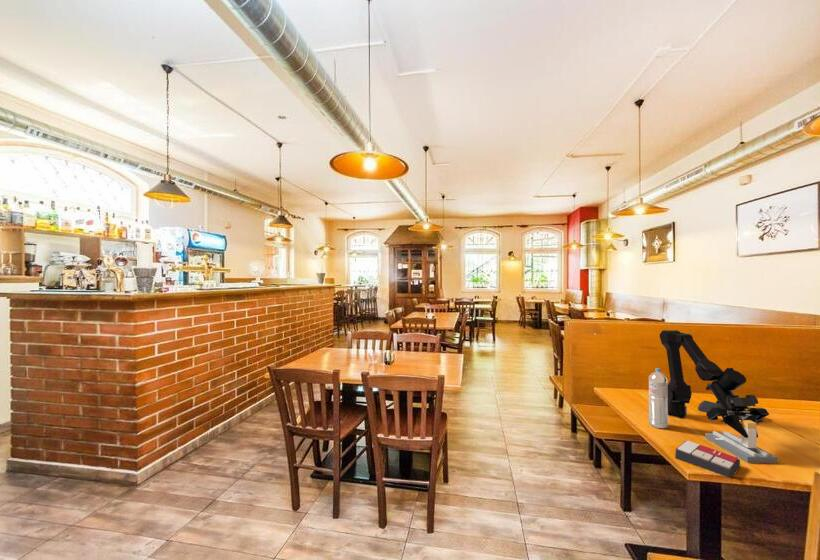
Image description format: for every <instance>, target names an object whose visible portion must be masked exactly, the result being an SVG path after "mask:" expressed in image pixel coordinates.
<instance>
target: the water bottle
mask: <svg viewBox="0 0 820 560" xmlns="http://www.w3.org/2000/svg"><path fill="white" fill-rule="evenodd" d="M654 370H655V371H654V372H652V373H650V375H648V423H649V425H650V426H651V427H653V428H656V429H661V430H662V429H664V430H665V429H667V428H668V427H669V415H668V384H669V379H668V378H667V376H666V375H665V374H664V373H662V372H661V368H658V367H657V368H656V367H655V369H654Z"/></svg>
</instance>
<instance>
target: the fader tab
mask: <svg viewBox="0 0 820 560" xmlns="http://www.w3.org/2000/svg"><path fill="white" fill-rule="evenodd" d="M740 423H741V425H742V426H743V428H744V429H745V431H746V433H747V435H748V438H745V437H744V436H742V435H741V434H740V435H741V437H740V438H741V445H742V446H744V447H745V448H747V449H749V450H751V451H756V448H757V447H758V446H757V444H758V443H757V442H758V441H757V439H758V437H757V433H758V430H757V429H758V428H757V425H758V424H757V423H755V422H753V421H751V420H741V421H740Z"/></svg>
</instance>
